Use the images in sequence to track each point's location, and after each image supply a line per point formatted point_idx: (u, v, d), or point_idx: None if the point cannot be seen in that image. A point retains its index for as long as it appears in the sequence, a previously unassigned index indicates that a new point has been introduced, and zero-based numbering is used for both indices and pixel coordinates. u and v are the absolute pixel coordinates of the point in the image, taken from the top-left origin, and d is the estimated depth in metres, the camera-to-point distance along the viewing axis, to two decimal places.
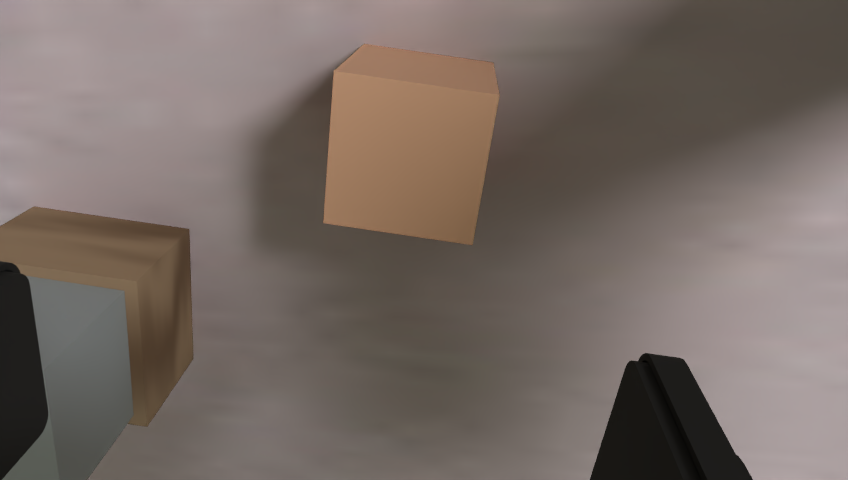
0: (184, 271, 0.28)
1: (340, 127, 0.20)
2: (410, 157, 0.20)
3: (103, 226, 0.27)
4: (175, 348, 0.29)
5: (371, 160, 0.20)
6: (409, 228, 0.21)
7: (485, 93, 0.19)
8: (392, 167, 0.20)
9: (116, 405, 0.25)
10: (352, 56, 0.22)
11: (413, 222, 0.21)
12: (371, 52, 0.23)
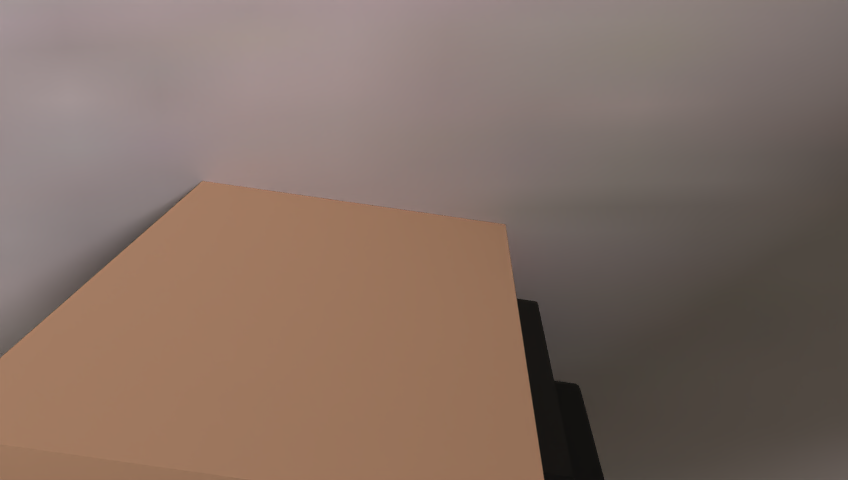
0: None
1: None
2: None
3: None
4: None
5: None
6: None
7: None
8: None
9: None
10: (112, 266, 0.08)
11: None
12: (193, 227, 0.09)
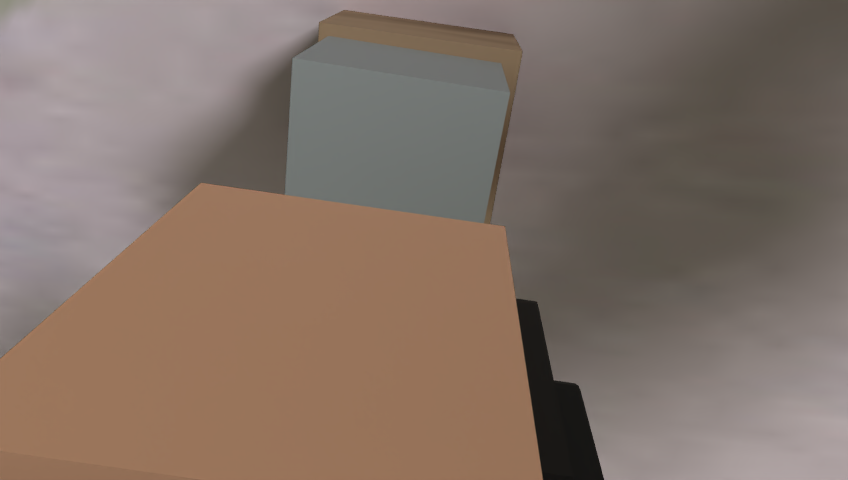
0: None
1: None
2: None
3: (430, 24, 0.25)
4: None
5: None
6: None
7: None
8: None
9: None
10: (109, 269, 0.08)
11: None
12: (191, 230, 0.09)
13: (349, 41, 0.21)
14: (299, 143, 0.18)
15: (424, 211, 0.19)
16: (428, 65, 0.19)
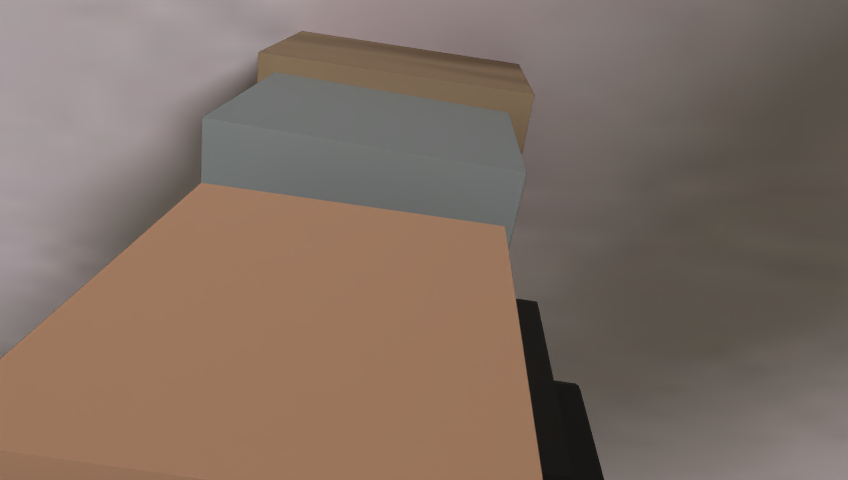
0: None
1: None
2: None
3: (412, 51, 0.20)
4: None
5: None
6: None
7: None
8: None
9: None
10: (109, 269, 0.08)
11: None
12: (191, 229, 0.09)
13: (302, 81, 0.16)
14: None
15: None
16: (408, 122, 0.14)
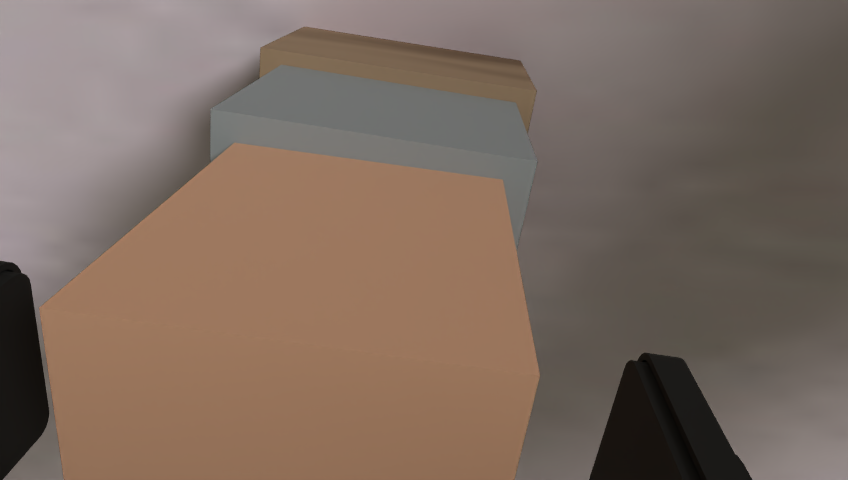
0: None
1: (88, 443, 0.07)
2: None
3: (414, 48, 0.20)
4: None
5: None
6: None
7: (497, 370, 0.06)
8: None
9: None
10: (168, 203, 0.09)
11: None
12: (232, 177, 0.10)
13: (308, 73, 0.16)
14: None
15: None
16: (416, 112, 0.14)
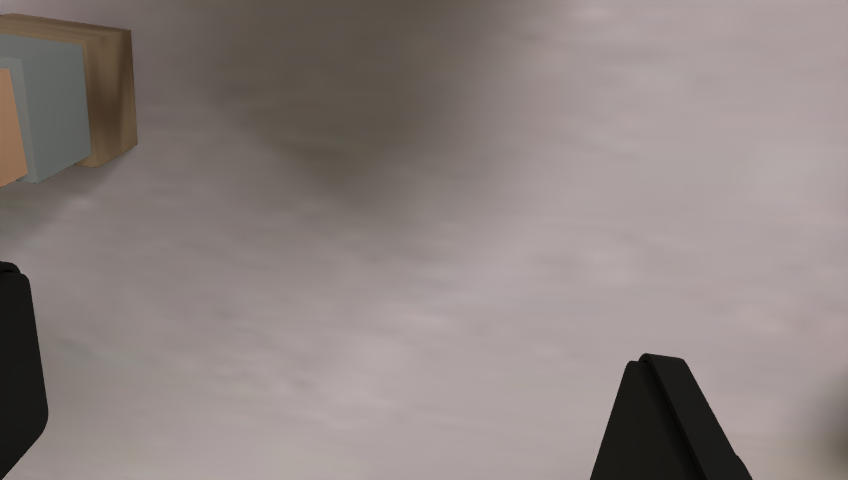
0: (127, 63, 0.38)
1: None
2: None
3: (65, 23, 0.37)
4: (120, 121, 0.38)
5: None
6: None
7: None
8: None
9: (77, 134, 0.34)
10: None
11: None
12: None
13: None
14: None
15: None
16: (1, 45, 0.31)
